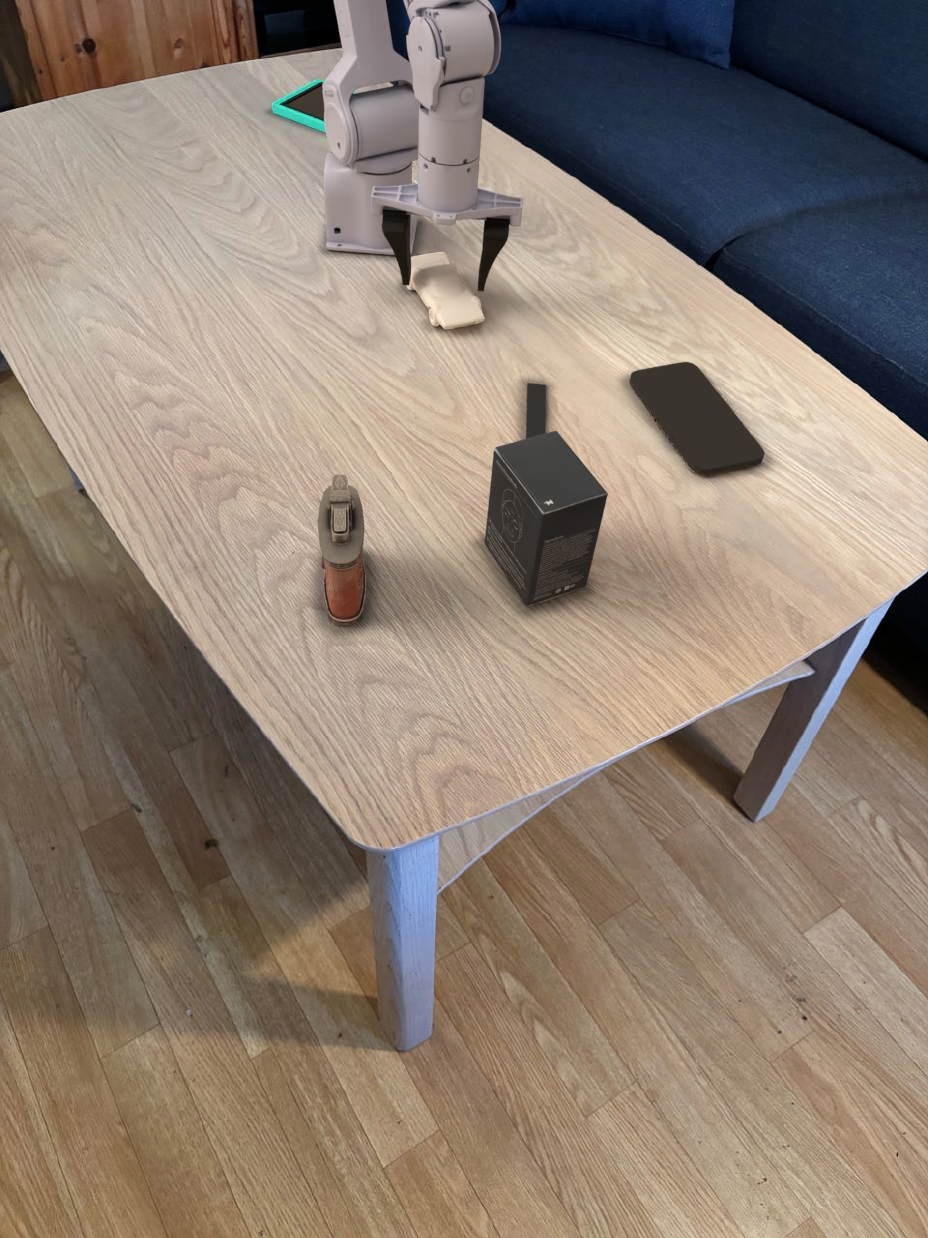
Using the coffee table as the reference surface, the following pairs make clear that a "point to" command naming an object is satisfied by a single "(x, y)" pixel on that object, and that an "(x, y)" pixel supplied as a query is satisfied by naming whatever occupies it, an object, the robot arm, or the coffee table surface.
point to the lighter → (342, 552)
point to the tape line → (536, 410)
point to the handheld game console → (304, 105)
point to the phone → (696, 418)
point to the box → (543, 516)
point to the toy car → (444, 291)
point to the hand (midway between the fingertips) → (443, 282)
